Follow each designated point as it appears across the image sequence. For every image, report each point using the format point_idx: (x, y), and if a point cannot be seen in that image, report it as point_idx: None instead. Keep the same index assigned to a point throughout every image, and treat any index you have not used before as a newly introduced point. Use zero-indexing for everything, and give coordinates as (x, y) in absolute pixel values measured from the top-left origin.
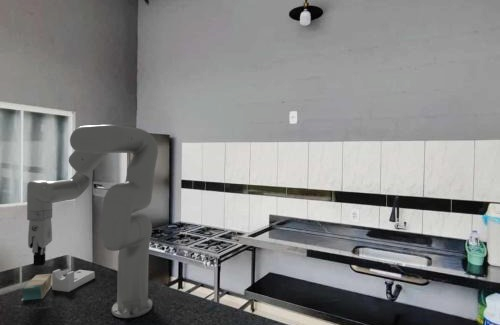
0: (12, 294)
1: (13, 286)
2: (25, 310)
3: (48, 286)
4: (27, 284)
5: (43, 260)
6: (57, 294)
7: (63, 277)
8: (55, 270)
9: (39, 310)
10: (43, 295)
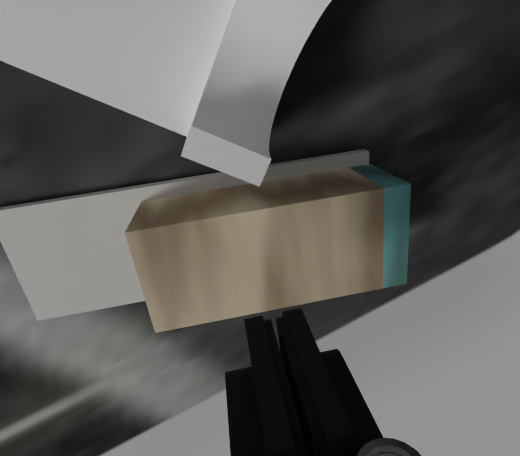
0: None
1: (153, 392)
2: (470, 180)
3: (206, 193)
4: (339, 294)
5: (315, 348)
6: (297, 86)
7: (234, 68)
8: (223, 170)
9: (498, 102)
10: (328, 165)
